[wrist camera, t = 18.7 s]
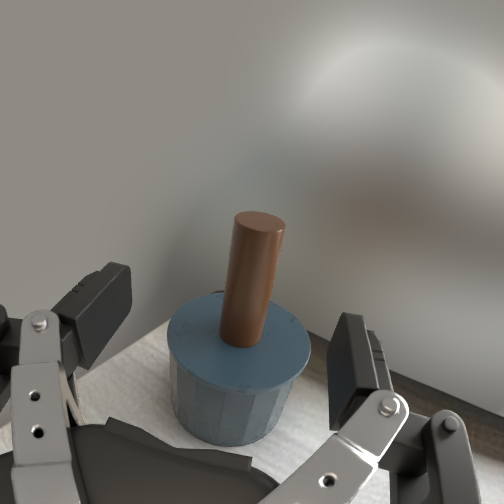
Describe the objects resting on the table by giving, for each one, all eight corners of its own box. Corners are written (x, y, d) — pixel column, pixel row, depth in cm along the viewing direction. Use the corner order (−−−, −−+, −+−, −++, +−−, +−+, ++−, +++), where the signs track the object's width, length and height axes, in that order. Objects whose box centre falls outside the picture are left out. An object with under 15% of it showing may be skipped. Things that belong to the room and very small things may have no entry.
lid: (139, 363, 18) (131, 227, 14) (204, 290, 26) (215, 184, 22) (289, 421, 16) (342, 290, 12) (316, 326, 24) (350, 218, 20)
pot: (152, 418, 21) (144, 354, 18) (200, 350, 29) (205, 286, 26) (262, 462, 19) (285, 409, 16) (290, 382, 27) (312, 320, 24)
